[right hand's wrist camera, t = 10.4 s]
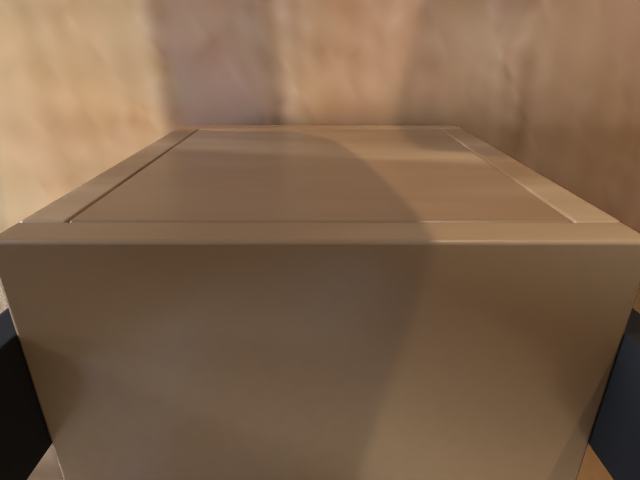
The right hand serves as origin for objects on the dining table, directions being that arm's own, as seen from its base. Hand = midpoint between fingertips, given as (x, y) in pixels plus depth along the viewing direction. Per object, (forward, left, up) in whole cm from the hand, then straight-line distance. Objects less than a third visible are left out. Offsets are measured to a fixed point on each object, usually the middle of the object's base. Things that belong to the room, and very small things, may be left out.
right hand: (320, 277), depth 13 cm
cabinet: (+2, -6, -7) cm, 9 cm away
